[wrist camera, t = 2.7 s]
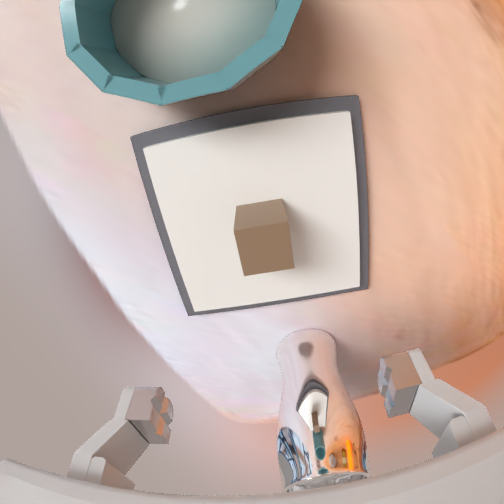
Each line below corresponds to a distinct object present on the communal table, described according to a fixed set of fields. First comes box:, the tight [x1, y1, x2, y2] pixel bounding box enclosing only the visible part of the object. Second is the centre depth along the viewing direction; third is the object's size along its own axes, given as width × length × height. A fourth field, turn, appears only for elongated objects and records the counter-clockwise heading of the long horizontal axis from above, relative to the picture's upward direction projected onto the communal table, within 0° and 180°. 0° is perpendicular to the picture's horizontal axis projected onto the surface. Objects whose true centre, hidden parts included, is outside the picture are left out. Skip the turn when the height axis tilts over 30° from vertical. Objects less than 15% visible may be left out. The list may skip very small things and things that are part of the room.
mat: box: [130, 95, 368, 316], centre depth 24 cm, size 16×16×1 cm
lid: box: [143, 111, 360, 312], centre depth 21 cm, size 14×14×5 cm
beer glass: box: [276, 329, 371, 493], centre depth 25 cm, size 7×7×15 cm
